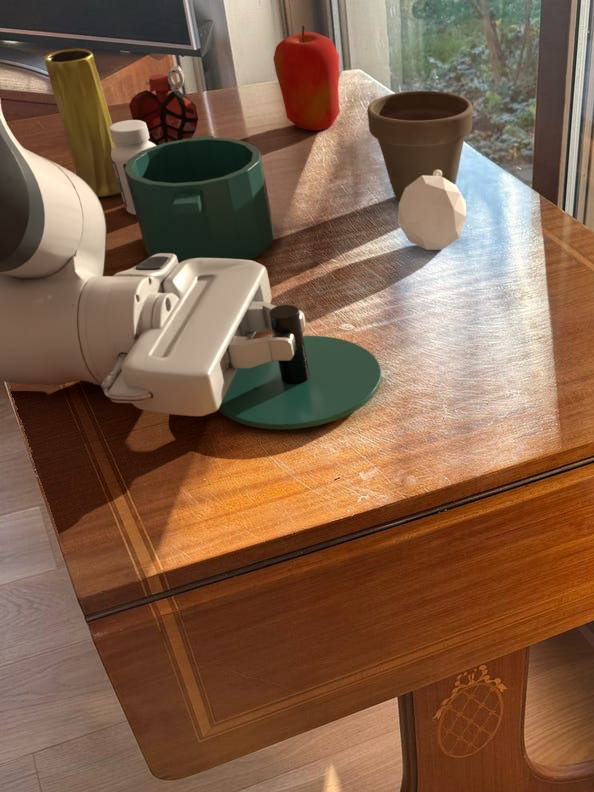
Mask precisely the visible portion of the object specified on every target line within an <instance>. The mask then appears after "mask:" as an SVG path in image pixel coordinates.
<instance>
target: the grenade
mask: <svg viewBox="0 0 594 792" xmlns="http://www.w3.org/2000/svg"><path fill="white" fill-rule="evenodd" d="M173 74H176V75H178V76H179V77H180V80H179V81H178V82H175V80H174V79H173V76H172V75H173ZM148 79H149V80H147V81H145V85H147V86H148V85H149V90H148V89H145V90H143V91H141V92H138V93H136V94H135V95H134V96H133V97H131V100H130V103H129V105H128V106H129V107H128V108H129V111H130V115H131V118H132V120H140V121H143V122H145V123H146V125H147V129H148V132H149V139H148V141H150V142H152V143H154V144H155V145H156V146H157V145H160V144H162V143H167V142H172V141H177V140H182V139H189V138H192V137H194V134H195V133H196V130H197V126H198V123H199V116H198V110H197V106H196V104H194V102H193V101H192V100H191V99H190V98H189V97H188V96H187V95H186V94H184V93H182V92H181V91H179V90H178V89H181V88H183V86H184V83H185V74H184V71H183V69H182V68H181V66H180V65H175V66H171V67H170V68H169V69H168V70H167V74H152V75H150V76H149V78H148ZM154 91H155V93H154ZM169 92H170V93H169Z"/></svg>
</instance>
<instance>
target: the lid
mask: <svg viewBox="0 0 594 792" xmlns="http://www.w3.org/2000/svg"><path fill="white" fill-rule="evenodd" d="M276 306H277V307H274V308H273V309H271V310H270V312H269V315H270V320H271V326H272V330H271V332H282V333H284V332H290V333H292V334H293V335H294V337H295V344H296V351H295V353H294V355H293V358H292V359H291V360H289V361H279V360H272V361H271V362H268V363H265V364H262V365H259V366H255V367H252V368H249V369H246V368H238V370H237V372H236V374H235V376H234V378H233V380H232V382H231V384H230V386H229V388H228V390H227V393H226V395H225V397H224V399H223V401H222V403H221V405H220V407H219V409H218V410H217V411H219V413H221V414H222V415H224V416H225V417H226V418H228V419H230V420H232V421H233V422H236V423H239V424H242V425H245V426H249V427H253V428H257V429H266V430H297V429H298V430H299V429H305V428H312V427H317V426H321V425H324V424H328V423H329V424H330V423H331V422H335V421H337V420H340V419H342V418H344V417H347V416H349V415H350V414H351V415H352V414H353V413H355V412H356V411H359V409H361V408H362V407H364V406H366V404H367V403H368V402H370V400H372V398H374V396H375V395H376V394H377V392H378V390H379V388H380V385H381V382H382V371H381V365H380V364H379V362H378V359H377V358H376V357H375V356H374V355H373V354H372V353H371V351H369V350H368V349H366V348H365V347H362V345H359V344H358V343H354V342H352V341H349V340H347V339H341V338H338V337H331V336H322V335H304V332H302V326H301V320H300V314H299V310H300V309H299V308H298V306H296V305H293V304H281V305H276Z"/></svg>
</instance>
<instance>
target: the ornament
mask: <svg viewBox="0 0 594 792" xmlns="http://www.w3.org/2000/svg"><path fill="white" fill-rule="evenodd" d="M441 176H442V172H441V171H440V170H435V171H434V173H433V176H423V175H422V176H421V177H419V178H418V179H417V180H415V181H414V182H413V183H411V184H410V185H409V186H407V187H406V188H405V190H404V192H403V195H402V197H401V199H400V202H398V225H399V227H400V229H401V231H402V232H403V234H404V235H405V236H406V238H407V240H408V241H409V242H410V243H412V244H414V245H416V246H418V247H419V248H422V249H424V250H426V251H441V250H442V251H443V250H444V249H446V248H447V247H449V246H450V245H452V244H453V243H454V242H456V241H457V240H459V239H460V238H461V235H462V232H463V230H464V226H465V224H466V220H467V219H466V218H467V202H466V199H465V198H464V196H463V194H462V193H461V191H460V190H459V188H458V187H457V185H456V183H455V184H453V183H451V182H450V181H448V180H447V179H445V178H443V177H441Z"/></svg>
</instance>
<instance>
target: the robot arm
mask: <svg viewBox="0 0 594 792" xmlns="http://www.w3.org/2000/svg"><path fill="white" fill-rule="evenodd" d="M105 215H106V214H105V211H104V208H103V205H102V203H101V201H100V199H99V197H97V195H96V194H95V192H94V191H93V190H92V188H91V187H90V186H89V185H88V184H87V183H86V182H85V181H84V180H83V179H82V178H80V177H79V176H78V175H77V173H75V172H72V171H71V170H69V169H67V168H66V167H64V166H62V165H60V164H58V163H57V162H55V161H52V160H50V159H48V158H46V157H44V156H41V155H38V154H36V153H34V152H32V151H30V150H28V149H27V148H25V147H23V146H22V145H21V144H20V142H19V141H18V140H17V138H16V137H15V135H14V134H13V132H12V131H11V129H10V128H9V125H8V124H7V121H6V119H5V116H4V113H3V108H2V101H1V99H0V382H3V383H10V384H22V385H23V384H24V385H41V386H42V385H43V386H61V385H66V384H69V383H73V382H87V383H91V384H92V385H96V386H100V388H101V390H102V391H103V393H104V395H105V397H106V398H108V399H109V400H110V401H111V402H113V403H118V404H132V405H133V406H134V407H135V408H137V409H139V410H141V411H145V412H150V413H156V414H157V413H158V414H166V415H174V416H185V417H204V416H207V415H210V414H213V413H215V412H218V411H219V410H218V409H219V407H220V405H221V403H222V401H223V399H224V397H225V395H226V393H227V390H228V388H229V386H230V384H231V382H232V380H233V378H234V376H235V374H236V372H237V370H238V368H246V369H249V368H252V367H255V366H259V365H262V364H265V363H268V362H271V361H272V360H279V361H289V360H291V359H292V358H293V355H294V353H295V351H296V344H295V337H294V335H293V334H292V333H290V332H284V333H282V332H273V331H272V326H271V320H270V315H269V312H270V310H271V309H273V308H274V307H277V306H278V305H274V304H272V303H271V302H272V298H273V297H272V290H271V285H270V284H271V283H270V280H269V274H268V270H267V268H266V266H265V265H263V264H262V263H259V262H256V261H255V260H252V259H250V260H242V259H227V258H193V259H188V260H185V261H182V262H180V263H178V260H177V257H176V255H175V254H170V253H160V254H155V255H153V256H151V257H150V256H149V257H148V258H146V259H145V260H144V261H142V262H140V263H139V264H137V265H135V266H133V267H131V268H128V269H126V270H125V269H124V270H122V271H118V272H116V273H115V274H113V275H112V276H111V275H105V269H106V257H107V256H106V255H107V238H108V237H107V235H108V234H107V233H108V232H107V231H108V228H107V227H108V226H107V219H106V216H105ZM299 314H300V320H301V326H302V332H303V333H304V332H305V330H306V326H307V325H306V317H305V313H304V312H303V311H302V310H300V309H299ZM268 330H271V334H270V336H264V337H257V338H254V337H255V335H256V333H266V332H267V331H268Z"/></svg>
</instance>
